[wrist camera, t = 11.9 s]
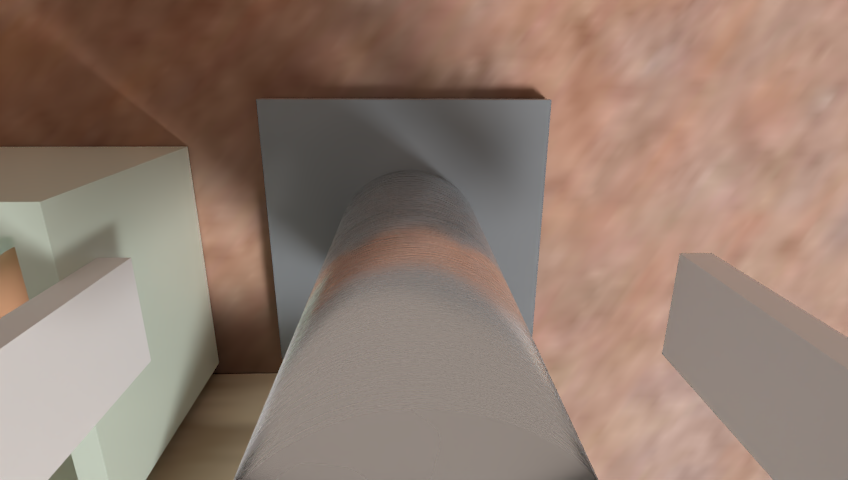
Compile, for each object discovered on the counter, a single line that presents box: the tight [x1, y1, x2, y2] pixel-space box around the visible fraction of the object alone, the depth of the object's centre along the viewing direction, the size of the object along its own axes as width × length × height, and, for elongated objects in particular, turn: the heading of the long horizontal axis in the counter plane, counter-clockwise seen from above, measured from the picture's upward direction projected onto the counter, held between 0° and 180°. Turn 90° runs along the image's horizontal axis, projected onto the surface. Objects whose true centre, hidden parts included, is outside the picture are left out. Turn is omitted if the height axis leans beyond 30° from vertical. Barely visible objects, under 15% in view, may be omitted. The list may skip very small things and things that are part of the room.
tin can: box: [233, 170, 598, 480], centre depth 11 cm, size 5×5×12 cm
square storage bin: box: [0, 146, 219, 480], centre depth 14 cm, size 8×8×7 cm
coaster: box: [256, 98, 551, 359], centre depth 17 cm, size 9×9×1 cm
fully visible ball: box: [0, 247, 29, 318], centre depth 16 cm, size 3×3×3 cm
